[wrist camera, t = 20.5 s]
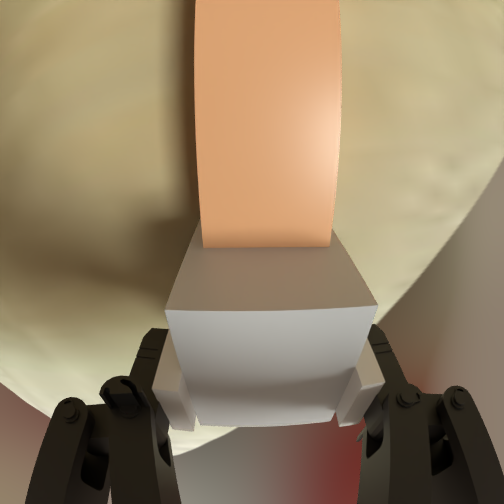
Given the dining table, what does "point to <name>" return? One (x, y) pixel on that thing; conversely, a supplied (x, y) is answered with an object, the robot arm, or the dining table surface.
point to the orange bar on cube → (267, 221)
